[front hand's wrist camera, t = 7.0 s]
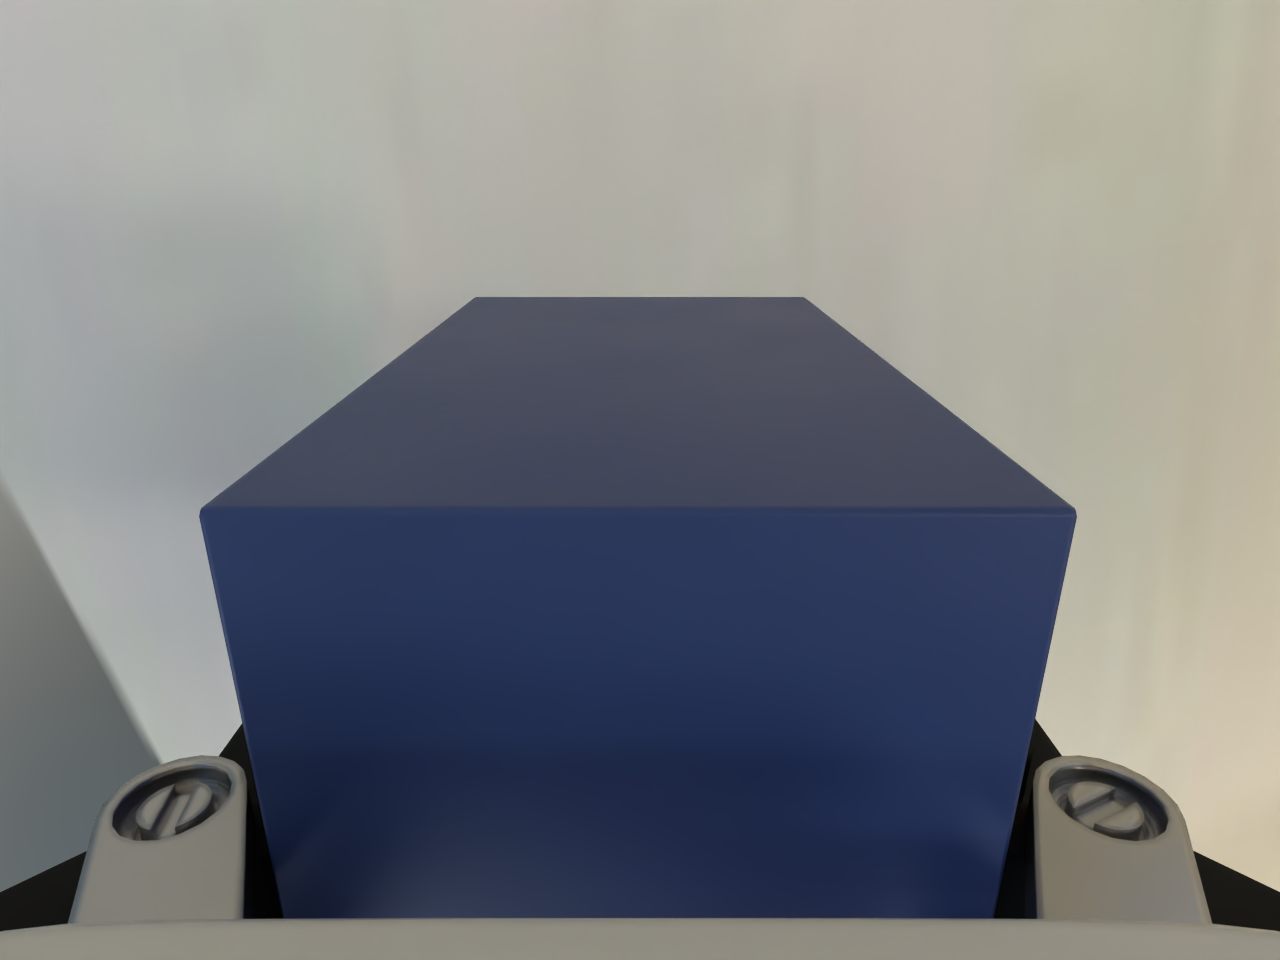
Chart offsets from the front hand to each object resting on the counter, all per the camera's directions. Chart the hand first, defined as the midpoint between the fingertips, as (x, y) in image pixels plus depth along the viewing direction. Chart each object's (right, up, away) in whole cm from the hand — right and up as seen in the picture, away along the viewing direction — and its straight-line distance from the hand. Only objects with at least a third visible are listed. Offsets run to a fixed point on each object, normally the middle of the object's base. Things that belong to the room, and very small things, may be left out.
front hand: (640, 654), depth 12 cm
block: (0, +2, +5) cm, 5 cm away
